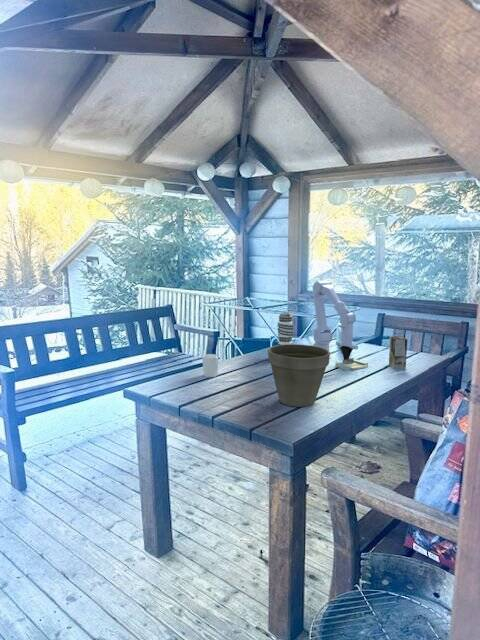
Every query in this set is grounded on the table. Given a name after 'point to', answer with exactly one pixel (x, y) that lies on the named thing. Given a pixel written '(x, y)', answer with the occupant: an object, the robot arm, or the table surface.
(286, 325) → the decorative candle
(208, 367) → the white cup
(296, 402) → the plant pot
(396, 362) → the coffee box
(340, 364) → the box
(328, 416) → the table surface
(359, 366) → the sliding lid with handle
